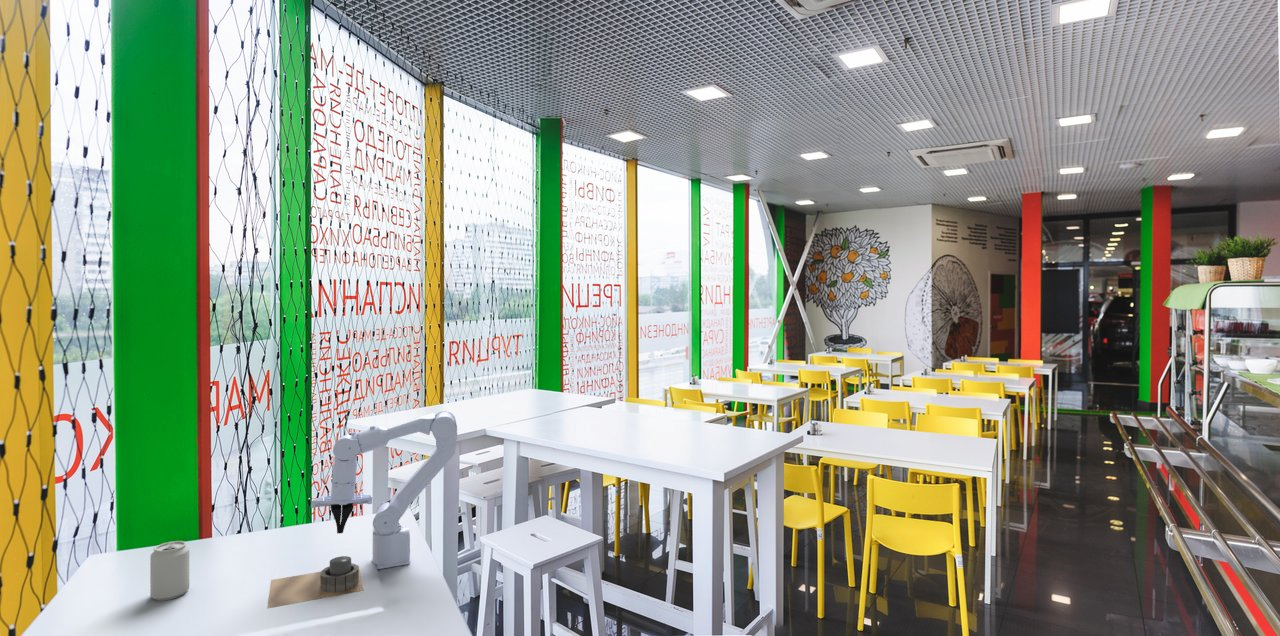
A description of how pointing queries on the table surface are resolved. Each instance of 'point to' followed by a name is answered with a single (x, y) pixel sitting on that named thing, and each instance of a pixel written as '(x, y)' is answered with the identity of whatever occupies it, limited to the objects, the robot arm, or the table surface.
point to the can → (169, 570)
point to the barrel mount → (313, 586)
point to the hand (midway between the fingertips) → (339, 532)
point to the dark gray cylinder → (340, 566)
